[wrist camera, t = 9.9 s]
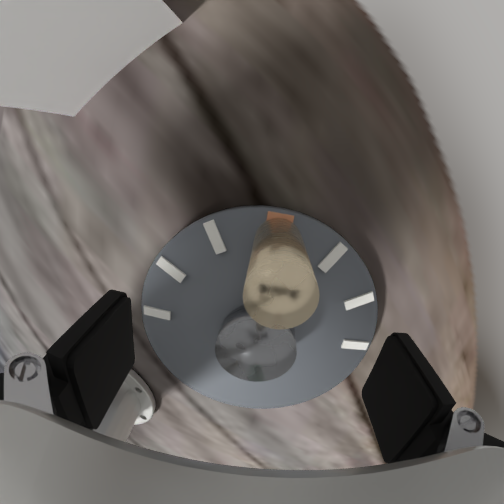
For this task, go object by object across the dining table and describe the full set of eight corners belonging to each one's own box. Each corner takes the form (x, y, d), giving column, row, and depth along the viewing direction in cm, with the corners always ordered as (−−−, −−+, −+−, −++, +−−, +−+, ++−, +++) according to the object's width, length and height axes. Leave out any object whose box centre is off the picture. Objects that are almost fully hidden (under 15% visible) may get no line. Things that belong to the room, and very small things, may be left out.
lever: (285, 368, 23) (286, 444, 15) (216, 356, 23) (196, 430, 15) (326, 226, 19) (359, 275, 11) (238, 210, 19) (214, 248, 11)
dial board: (332, 407, 27) (334, 416, 25) (151, 378, 27) (147, 387, 26) (403, 232, 20) (410, 237, 19) (150, 187, 20) (142, 190, 19)
